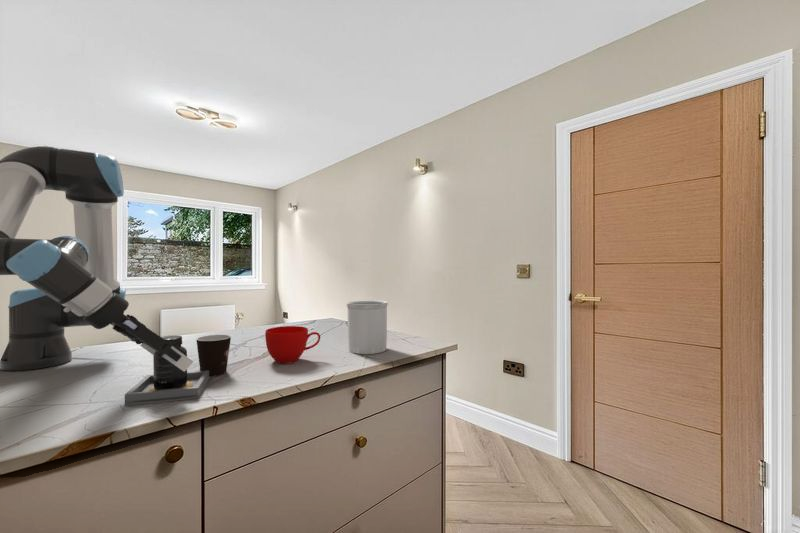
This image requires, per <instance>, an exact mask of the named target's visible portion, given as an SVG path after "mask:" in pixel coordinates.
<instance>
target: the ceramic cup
mask: <svg viewBox="0 0 800 533" xmlns="http://www.w3.org/2000/svg"><path fill="white" fill-rule="evenodd" d="M313 335H317V338H318V339H317V340H316V341H315V343H313V344H311V345H309V346H307V343H308V340H309V338H310V337H311V336H313ZM320 341H321V335H320V333H319V332H317V331H313V332H309V329H308V327H305V326H300V325H299V326H296V325H290V326H289V325H287V326H286V325H285V326H284V325H283V326H277V327H270V328H268V329H266V330H265V345H266V349H267V351H268V353H269V355H270V357H271V358H272V359H273V360H274V361H275V362H276V363H277V364H291V363H296V362H298V360H299V359H300V357H301V356H302V355H303V353H304V352H305V351H309V350H310V349H313V348H315V347H316V346H317V345H318V344H319V342H320Z"/></svg>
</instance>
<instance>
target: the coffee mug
mask: <svg viewBox="0 0 800 533" xmlns="http://www.w3.org/2000/svg"><path fill="white" fill-rule="evenodd" d="M231 338H232V336H231V335H230V334H229V335H228V334H212V335H211V334H209V335H203V336H199V337H197V338H196V340H195V341H196V346H197V354H198V364H199V371H209V378H210V377H211V378H212V377H218V376H221V375H224V374H226V373H227V370H228V369H227V368H228V362H229V361H228V360H229V353H230V346H231Z"/></svg>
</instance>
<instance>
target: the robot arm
mask: <svg viewBox="0 0 800 533" xmlns="http://www.w3.org/2000/svg"><path fill="white" fill-rule="evenodd" d="M46 190H47V191H49V190H50V191H57V192H58V191H59V192H64V194H65V199H66V200H67V201H68V202H69V203H71V204H72V205H73V220H74V236H69V235H64V236H63V235H62V236H58V237H55V238H52V239H44V238H43V239H37V238H36V239H35V238H34V239H33V238H16V236H17V235H18V232H19V230H20V228H21V227H22V223H23V222H24V219H25V218H26V216H27V214H28V212H29V210H30V207H31V205H32V203H33V202H34V199H35V197H36V196H37V195H39V194H41V193H42V192H43V191H46ZM124 191H125V190H124V180H123V176H122V171H121V167H120V164H119V161H118V160H117V159H116V158H115V157H114V156H111V155H107V154H103V153H98V152H93V151H92V152H89V151H84V150H83V151H82V150H76V149H69V148H68V149H67V148H59V147H53V146H29V147H27V148H23V149H22V148H21V149H20V150H15V151H14V152H11V153H9V154H7V155H5V156H4V157H3V158H1V159H0V276H10V275H11V276H13V275H14V276H18V278H19V279H20V280H22V281H24V282H26V283H27V284H29V285H30V286H32V287H33V288H23V289H18V290H14V291H12V293H11V294H10V295H9V304H8V306H7V308H8V342H7V345H6V346H5V349H4V351H3V354H2V356H1V357H0V370H1V371H7V372H9V371H10V372H17V371H29V370H37V369H43V368H44V369H45V368H49V367H54V366H57V365H58V366H59V365H62V364H65V363H68V362H70V361H72V359H73V354H72V350H71V347H70V345H69V343H68V341H67V339H66V337H65V328H73V327H90V326H91V327H93V328H95V329H96V330H102V329H104V328H106V327H108V326H109V325H111V326H112V330H114V331H115V332H116V333H120V334H121V335H123V336H125V337H127V338H128V339H129V340H131V342H133V343H135V344H136V345H139V346H140V347H141V348H142V349H144V350H146V351H147V352H148V353H150V355H152V356H153V355H154V353H155V351H157V352H158V353H159V354H158V355H157V356H158V357H159V358H161V357H164V358H165V359H167V360H168V361H169V362H171V363H172V364H174V365H175V366H177V367H178V368H179V369H181V370H182V371H184V372H185V371H186V370H187V371H188V369H189V367H191V365H192V364H193V363H194V361H193V360H192V359H191V358H189V357H188V356H187V357H186V356H185V355H184V354H182V353H181V352H180V351H178V350H177V349H176V348H174V347H173V345H172V344H171V343H169V342H167V341H166V340H164V339H163V338H161V337H162V336H160V335H159V334H157V333H156V332H154V331H152V330H151V329H149V328H148V327H147V325H146V324H144V323H143V322H141V321H139V320H138V318H136V317H135V316H134V315H131V314H126V315H125V312H126V311H127V309H128V308H129V305H130V303H129V301H127V300H126V292H127V288H123V287H121V283H120V282H119V281H118V280H117V279H116V278H115V272H114V268H115V267H114V245H113V244H114V242H113V216H112V215H113V212H112V207H113V206H114V205H116V204H117V203H118V201H119V200H118V198H120V197H123V196H124V194H125V193H124ZM164 344H165V346H164V347H163V348H162V349H161V347H162V346H163V345H164Z"/></svg>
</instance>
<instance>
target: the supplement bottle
mask: <svg viewBox="0 0 800 533" xmlns="http://www.w3.org/2000/svg"><path fill="white" fill-rule="evenodd" d="M160 337H161V338H163V339H164V340H166V341H167V342H169V343H171V344H172V345H173V347H174V348H176V349H177V350H178V351H180V352H181V353H182V354H184V355H185V356H186V357H188V350H187V348H186V347H184V346H182V345H183V336H182V335H167V336H160ZM164 346H165V344H164V345H163V346H162V347H161V349H162V348H163V347H164ZM158 354H159V353H158V352H157V351H155V353H154V355H153V354H152V356H153V358H152V360H153V361H152V362H153V365H152V366H153V369H152V370H153V375H154V389H155V390H166V389H177V388H182V387H184V386H185V385H186V384H187V372H188V369H187V370H186V371H185V372H184V371H182V370H181V369H179V368H178V367H177V366H175V365H174V364H172V363H171V362H169V361H168V360H167V359H165V358H164V357H161V358H159V357H158V356H157V355H158Z"/></svg>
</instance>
